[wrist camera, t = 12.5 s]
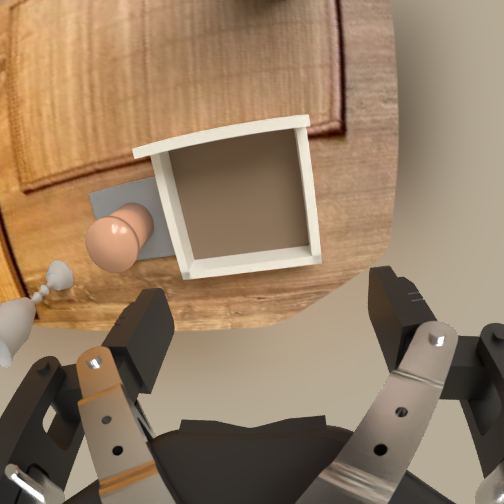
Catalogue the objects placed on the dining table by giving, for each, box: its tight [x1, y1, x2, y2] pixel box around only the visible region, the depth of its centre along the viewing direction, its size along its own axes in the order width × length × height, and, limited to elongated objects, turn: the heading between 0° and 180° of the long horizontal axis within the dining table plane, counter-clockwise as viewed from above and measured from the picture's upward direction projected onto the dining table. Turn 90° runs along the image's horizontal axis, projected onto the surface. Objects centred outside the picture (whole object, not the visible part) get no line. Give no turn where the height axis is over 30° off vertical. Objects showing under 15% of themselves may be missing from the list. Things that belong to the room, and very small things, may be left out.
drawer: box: [132, 115, 322, 280], centre depth 32 cm, size 16×16×8 cm
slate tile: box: [89, 176, 176, 260], centre depth 38 cm, size 10×10×1 cm
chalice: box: [0, 260, 74, 367], centre depth 34 cm, size 7×7×18 cm
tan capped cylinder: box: [86, 203, 154, 273], centre depth 34 cm, size 6×6×7 cm
